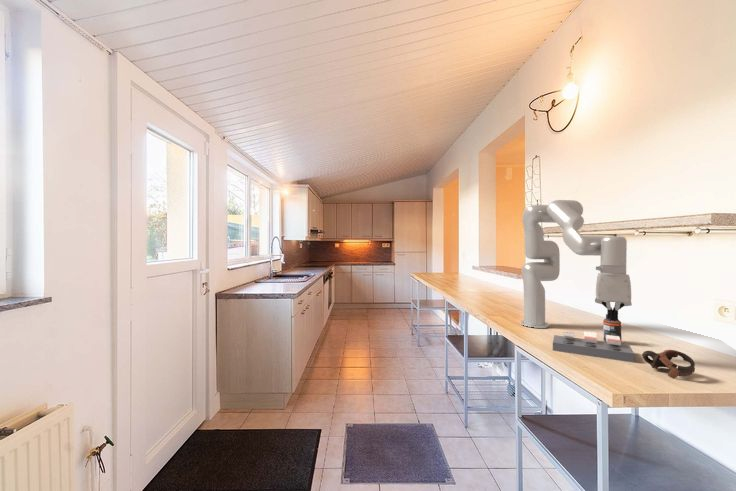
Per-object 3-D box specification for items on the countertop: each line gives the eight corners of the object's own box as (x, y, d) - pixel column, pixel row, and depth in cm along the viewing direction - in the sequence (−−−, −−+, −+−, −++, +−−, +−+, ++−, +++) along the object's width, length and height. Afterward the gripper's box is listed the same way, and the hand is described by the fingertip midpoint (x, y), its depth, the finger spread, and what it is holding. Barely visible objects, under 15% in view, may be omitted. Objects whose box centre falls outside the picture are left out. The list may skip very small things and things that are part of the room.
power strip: (554, 342, 132) (554, 334, 132) (629, 352, 119) (629, 343, 119) (552, 350, 122) (552, 341, 122) (634, 362, 109) (634, 352, 109)
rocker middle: (583, 336, 126) (583, 331, 126) (596, 337, 124) (596, 332, 124) (584, 343, 122) (584, 338, 121) (597, 345, 119) (597, 339, 119)
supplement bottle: (615, 340, 135) (615, 313, 135) (625, 344, 129) (625, 316, 129) (600, 339, 136) (599, 313, 136) (609, 344, 130) (609, 316, 130)
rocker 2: (605, 339, 123) (605, 334, 122) (619, 341, 120) (619, 335, 120) (607, 345, 118) (607, 340, 117) (621, 347, 115) (621, 341, 115)
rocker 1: (562, 337, 130) (562, 331, 130) (574, 338, 127) (574, 333, 128) (562, 337, 125) (562, 331, 125) (574, 338, 123) (574, 333, 123)
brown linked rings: (686, 372, 102) (697, 354, 97) (687, 394, 95) (699, 376, 91) (638, 355, 108) (647, 338, 104) (636, 375, 102) (645, 357, 98)
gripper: (588, 270, 118) (588, 319, 118) (641, 272, 110) (640, 325, 110) (588, 268, 124) (587, 315, 125) (638, 270, 116) (637, 321, 117)
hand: (612, 320), depth 117 cm, fingers closed
